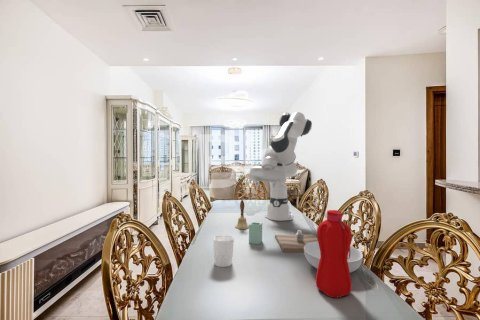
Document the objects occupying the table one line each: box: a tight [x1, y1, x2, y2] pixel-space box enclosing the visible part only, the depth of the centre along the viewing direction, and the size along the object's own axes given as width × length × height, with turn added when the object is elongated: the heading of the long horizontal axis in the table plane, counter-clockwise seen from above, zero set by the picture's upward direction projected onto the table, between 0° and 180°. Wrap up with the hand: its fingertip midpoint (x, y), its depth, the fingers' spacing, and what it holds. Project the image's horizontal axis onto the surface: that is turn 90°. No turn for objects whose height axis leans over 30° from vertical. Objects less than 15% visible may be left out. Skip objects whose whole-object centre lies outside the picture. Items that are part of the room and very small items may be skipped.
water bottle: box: [315, 209, 353, 298], centre depth 80 cm, size 9×11×25 cm
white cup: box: [212, 234, 235, 268], centre depth 101 cm, size 8×8×10 cm
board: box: [274, 234, 318, 253], centre depth 124 cm, size 20×20×2 cm
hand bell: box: [235, 199, 249, 230], centre depth 153 cm, size 8×8×16 cm
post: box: [295, 229, 304, 242], centre depth 124 cm, size 3×3×5 cm
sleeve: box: [248, 221, 263, 245], centre depth 127 cm, size 5×5×9 cm
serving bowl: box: [303, 241, 364, 274], centre depth 98 cm, size 21×21×7 cm
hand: (265, 186), depth 136 cm, fingers open, 8 cm apart
